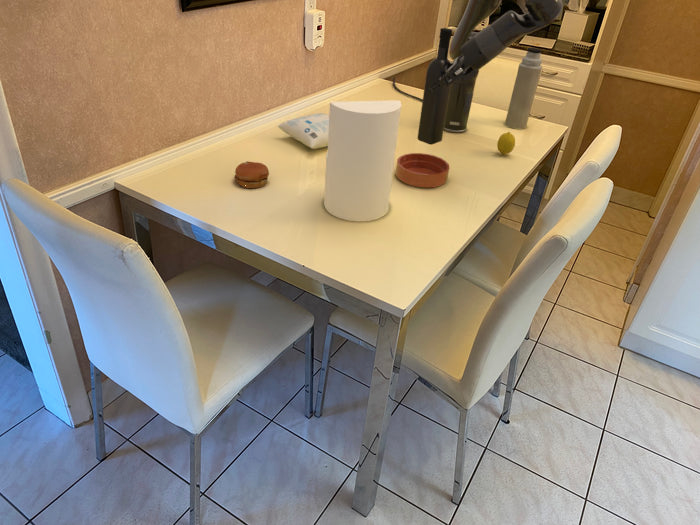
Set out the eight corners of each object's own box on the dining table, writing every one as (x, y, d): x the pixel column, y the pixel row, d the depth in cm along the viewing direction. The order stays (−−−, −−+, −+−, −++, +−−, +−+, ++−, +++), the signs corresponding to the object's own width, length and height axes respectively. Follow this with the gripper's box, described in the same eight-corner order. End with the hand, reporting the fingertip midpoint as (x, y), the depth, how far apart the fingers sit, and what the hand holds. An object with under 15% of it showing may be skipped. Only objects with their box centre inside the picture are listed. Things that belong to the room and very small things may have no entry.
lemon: (512, 159, 173) (518, 136, 168) (495, 157, 174) (500, 133, 169) (511, 153, 177) (517, 130, 173) (494, 150, 178) (500, 128, 174)
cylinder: (397, 218, 135) (412, 112, 119) (333, 224, 131) (339, 114, 115) (376, 188, 149) (387, 89, 133) (317, 192, 144) (321, 90, 128)
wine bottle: (427, 135, 154) (444, 26, 137) (443, 141, 151) (461, 30, 134) (415, 139, 151) (430, 28, 134) (430, 145, 148) (448, 32, 131)
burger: (253, 192, 142) (252, 176, 139) (227, 182, 146) (226, 166, 143) (276, 180, 149) (276, 164, 146) (251, 171, 153) (250, 156, 150)
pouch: (311, 134, 158) (360, 120, 169) (275, 117, 170) (323, 104, 181) (312, 158, 163) (359, 143, 174) (277, 140, 175) (323, 127, 186)
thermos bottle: (505, 120, 205) (524, 44, 189) (526, 123, 203) (546, 48, 187) (504, 126, 199) (522, 49, 183) (525, 130, 197) (546, 52, 181)
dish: (385, 171, 159) (387, 157, 156) (425, 163, 166) (427, 150, 163) (415, 193, 148) (417, 178, 145) (457, 183, 155) (460, 169, 152)
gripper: (476, 30, 139) (426, 70, 148) (473, 41, 127) (419, 83, 136) (492, 53, 141) (442, 91, 150) (491, 66, 130) (436, 106, 138)
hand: (431, 87), depth 143 cm, fingers closed on wine bottle, 7 cm apart
